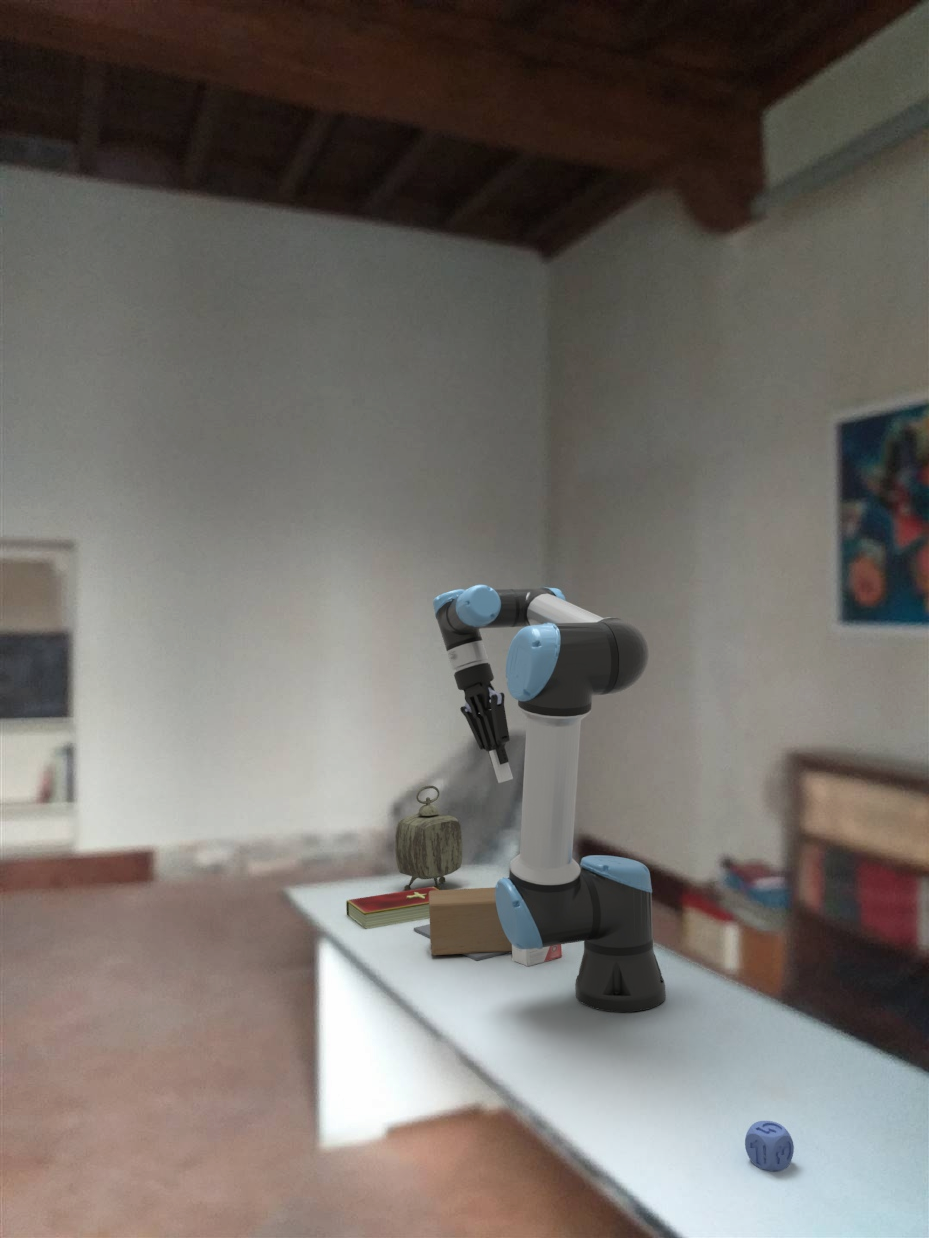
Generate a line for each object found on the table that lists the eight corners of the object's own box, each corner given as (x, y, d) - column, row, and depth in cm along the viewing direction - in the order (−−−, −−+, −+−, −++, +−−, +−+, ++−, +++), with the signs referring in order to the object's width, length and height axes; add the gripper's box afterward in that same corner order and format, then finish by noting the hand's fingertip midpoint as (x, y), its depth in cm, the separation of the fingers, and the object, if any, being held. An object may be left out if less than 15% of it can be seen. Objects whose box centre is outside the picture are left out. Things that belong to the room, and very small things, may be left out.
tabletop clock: (443, 880, 253) (440, 780, 253) (467, 887, 246) (463, 783, 246) (396, 892, 243) (393, 788, 243) (419, 899, 236) (416, 792, 236)
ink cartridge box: (546, 950, 197) (543, 874, 197) (562, 957, 193) (559, 879, 193) (510, 960, 192) (507, 882, 192) (526, 967, 188) (523, 888, 188)
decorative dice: (745, 1160, 120) (743, 1126, 120) (767, 1149, 122) (766, 1116, 122) (772, 1175, 117) (770, 1140, 117) (795, 1164, 119) (793, 1129, 119)
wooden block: (430, 939, 205) (529, 934, 206) (431, 955, 195) (534, 950, 196) (428, 889, 205) (527, 885, 206) (429, 903, 195) (533, 898, 196)
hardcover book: (346, 917, 226) (346, 898, 226) (433, 902, 235) (432, 884, 235) (364, 931, 215) (364, 911, 215) (455, 916, 224) (454, 897, 224)
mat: (555, 940, 203) (555, 937, 203) (476, 960, 193) (476, 957, 193) (488, 913, 223) (488, 910, 223) (413, 930, 213) (413, 927, 213)
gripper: (439, 677, 206) (473, 790, 203) (473, 662, 196) (509, 781, 193) (468, 670, 211) (502, 780, 208) (503, 655, 200) (539, 771, 197)
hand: (505, 780), depth 200 cm, fingers closed
